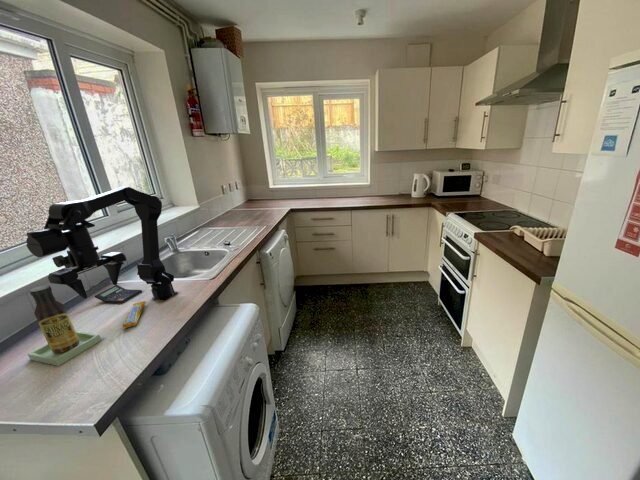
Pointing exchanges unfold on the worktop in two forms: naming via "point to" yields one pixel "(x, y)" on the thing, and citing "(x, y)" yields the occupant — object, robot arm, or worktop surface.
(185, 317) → the worktop surface
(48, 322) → the sauce bottle
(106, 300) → the calculator
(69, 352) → the tray
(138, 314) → the candy bar
